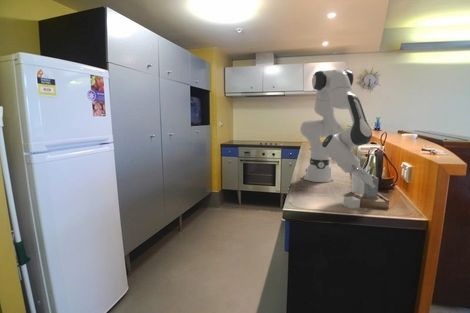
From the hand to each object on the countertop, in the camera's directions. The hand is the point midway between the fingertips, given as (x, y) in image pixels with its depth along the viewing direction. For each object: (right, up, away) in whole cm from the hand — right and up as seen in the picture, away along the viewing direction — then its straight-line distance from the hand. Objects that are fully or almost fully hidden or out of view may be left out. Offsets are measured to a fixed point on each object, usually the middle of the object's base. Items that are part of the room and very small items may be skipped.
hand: (369, 184), depth 126 cm
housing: (+1, -6, +1) cm, 6 cm away
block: (-10, -10, -3) cm, 14 cm away
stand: (+1, -9, +1) cm, 9 cm away
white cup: (+4, -7, +20) cm, 21 cm away
